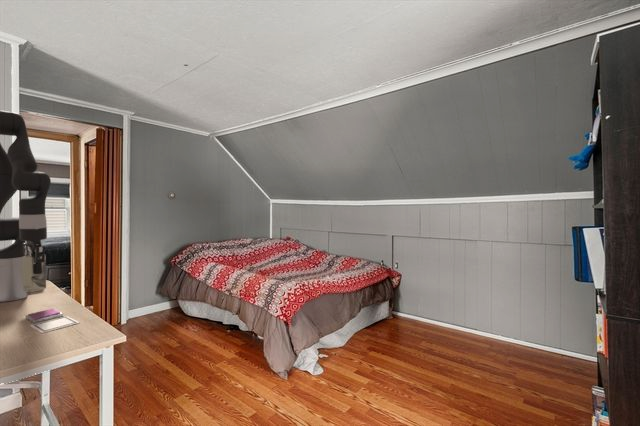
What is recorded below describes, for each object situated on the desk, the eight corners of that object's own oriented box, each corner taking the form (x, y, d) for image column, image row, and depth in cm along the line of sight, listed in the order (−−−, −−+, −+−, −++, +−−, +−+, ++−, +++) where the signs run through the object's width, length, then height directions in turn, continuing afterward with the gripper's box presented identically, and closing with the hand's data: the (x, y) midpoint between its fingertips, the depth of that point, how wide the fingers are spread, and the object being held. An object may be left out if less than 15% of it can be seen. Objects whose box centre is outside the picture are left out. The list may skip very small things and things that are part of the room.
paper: (30, 326, 106) (30, 325, 106) (67, 316, 114) (67, 315, 114) (41, 333, 101) (41, 332, 101) (79, 323, 109) (79, 321, 109)
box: (32, 292, 117) (31, 257, 116) (22, 291, 117) (21, 256, 117) (47, 288, 122) (46, 254, 121) (37, 287, 123) (36, 253, 122)
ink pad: (25, 318, 113) (25, 314, 113) (53, 311, 119) (53, 307, 119) (34, 323, 108) (33, 319, 108) (62, 316, 115) (62, 312, 115)
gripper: (12, 225, 119) (14, 271, 120) (26, 229, 111) (28, 278, 112) (38, 224, 125) (40, 267, 126) (53, 227, 117) (55, 273, 118)
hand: (34, 272), depth 119 cm, fingers closed on box, 5 cm apart
